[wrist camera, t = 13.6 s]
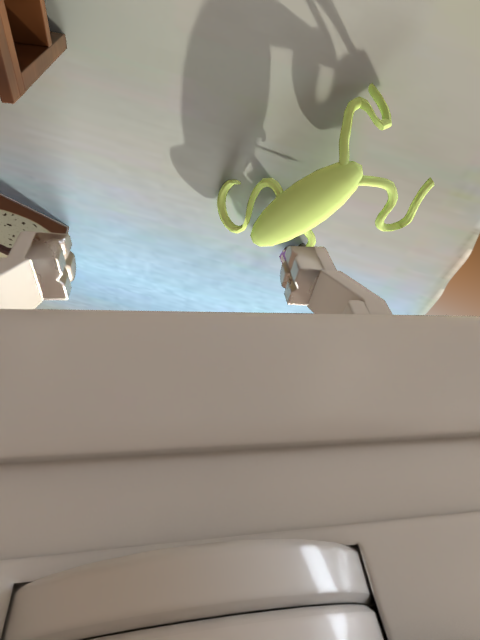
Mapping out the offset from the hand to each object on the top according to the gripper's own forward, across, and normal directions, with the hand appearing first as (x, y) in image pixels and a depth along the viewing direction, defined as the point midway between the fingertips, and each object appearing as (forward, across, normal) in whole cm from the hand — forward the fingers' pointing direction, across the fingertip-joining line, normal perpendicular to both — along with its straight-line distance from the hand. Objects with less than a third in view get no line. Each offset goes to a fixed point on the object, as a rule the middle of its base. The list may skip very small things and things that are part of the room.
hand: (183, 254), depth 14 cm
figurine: (+35, -20, +13) cm, 43 cm away
